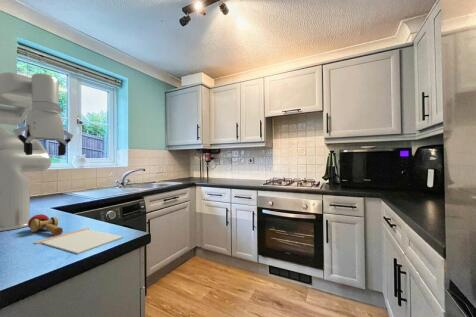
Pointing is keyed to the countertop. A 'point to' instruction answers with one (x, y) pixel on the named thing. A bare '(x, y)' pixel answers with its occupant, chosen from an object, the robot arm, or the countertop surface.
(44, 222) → the kendama
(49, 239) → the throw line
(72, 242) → the mat
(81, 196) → the countertop surface
